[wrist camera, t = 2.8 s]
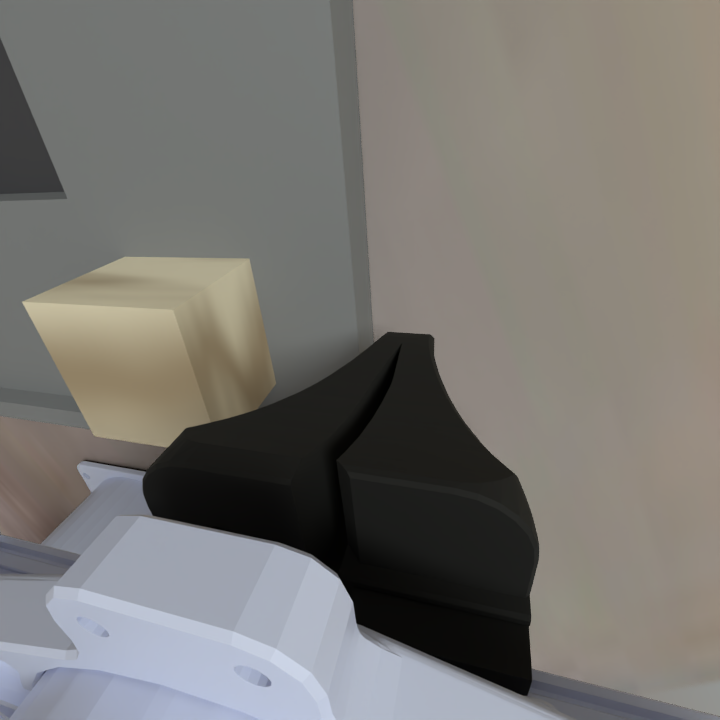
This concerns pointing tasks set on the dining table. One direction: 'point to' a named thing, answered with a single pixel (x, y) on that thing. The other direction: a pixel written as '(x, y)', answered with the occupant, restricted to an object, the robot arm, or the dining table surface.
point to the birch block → (158, 344)
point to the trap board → (183, 169)
